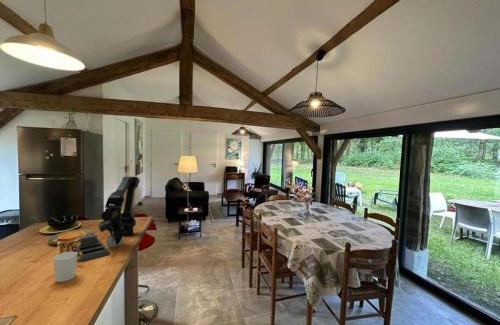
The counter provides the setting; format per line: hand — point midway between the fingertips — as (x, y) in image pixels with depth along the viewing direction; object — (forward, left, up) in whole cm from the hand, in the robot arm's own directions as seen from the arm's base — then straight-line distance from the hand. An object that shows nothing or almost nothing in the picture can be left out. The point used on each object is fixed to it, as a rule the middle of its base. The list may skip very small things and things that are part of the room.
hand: (115, 242), depth 131 cm
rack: (+12, 0, -2) cm, 12 cm away
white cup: (+25, +24, -2) cm, 35 cm away
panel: (0, 0, -2) cm, 2 cm away
